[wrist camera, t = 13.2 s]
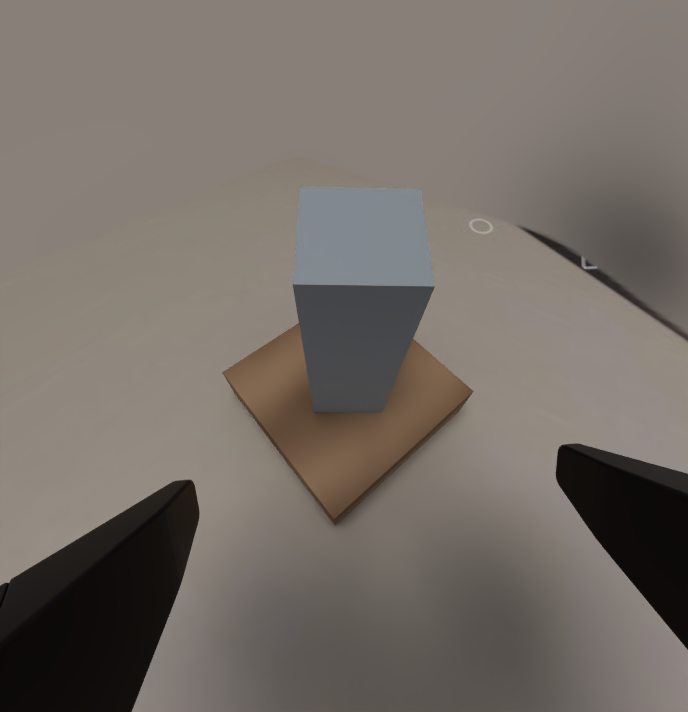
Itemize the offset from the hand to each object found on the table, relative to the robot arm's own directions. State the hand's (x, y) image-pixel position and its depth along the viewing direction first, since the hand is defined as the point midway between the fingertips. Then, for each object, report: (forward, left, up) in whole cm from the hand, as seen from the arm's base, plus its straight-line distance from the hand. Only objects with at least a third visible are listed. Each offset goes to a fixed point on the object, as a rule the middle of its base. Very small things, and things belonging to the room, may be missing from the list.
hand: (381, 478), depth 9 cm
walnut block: (+7, -5, -14) cm, 16 cm away
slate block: (+6, -5, -10) cm, 13 cm away
